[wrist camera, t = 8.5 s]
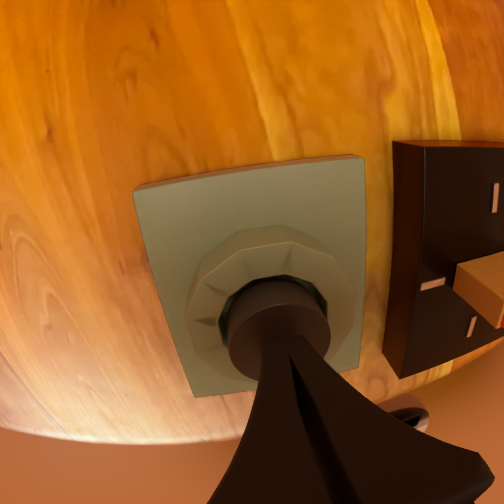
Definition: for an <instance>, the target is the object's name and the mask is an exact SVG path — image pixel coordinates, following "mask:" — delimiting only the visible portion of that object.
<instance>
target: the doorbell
mask: <svg viewBox="0 0 504 504" xmlns="http://www.w3.org/2000/svg"><path fill="white" fill-rule="evenodd" d="M132 196H133V200H134V205H135V209H136V213H137V217H138V222H139V226H140V230H141V234H142V237H143V241H144V245H145V249H146V253H147V256H148V260H149V264H150V267H151V271H152V274H153V278H154V281H155V284H156V288H157V291H158V294H159V298H160V301H161V304H162V307H163V311H164V314H165V317H166V320H167V323H168V326H169V329H170V332H171V335H172V338H173V341H174V344H175V347H176V349H177V352H178V355H179V358H180V361H181V363H182V366H183V369H184V372H185V374H186V377H187V380H188V382H189V385H190V387H191V390H192V393H193V395H194V397H195V398H198V397H207V396H215V395H223V394H231V393H238V392H245V391H251V390H257V386H258V381H255V380H253V379H250V378H248V377H246V376H244V375H243V374H241V373H240V372H239V371H238V370H237V369H236V368H235V366H234V365H233V363H232V362H231V360H230V357H229V351H228V338H227V313H228V310H229V307H230V306H231V304H232V302H233V301H234V299H235V298H236V297H237V296H238V295H239V294H240V293H241V292H242V291H243V290H244V289H246V288H248V287H249V286H251V285H253V284H255V283H257V282H260V281H264V280H268V279H287V280H291V281H295V282H297V283H299V284H301V285H303V286H304V287H306V288H307V289H308V290H309V291H310V292H311V293H312V294H313V296H314V297H315V299H316V301H317V303H318V305H319V307H320V309H321V310H322V312H323V314H324V316H325V318H326V320H327V322H328V324H329V327H330V331H331V342H330V346H329V349H328V351H327V353H326V355H325V357H324V358H323V359H324V360H325V361H326V362H327V363H328V364H329V365H330V366H331V367H332V368H333V369H334V370H335V371H336V372H337V373H340V372H344V371H348V370H352V369H356V368H358V367H359V359H360V349H361V339H362V327H363V314H364V298H365V276H366V182H365V161H364V158H363V157H359V156H356V155H352V154H351V155H339V156H328V157H318V158H308V159H299V160H290V161H282V162H274V163H266V164H259V165H252V166H245V167H238V168H231V169H225V170H219V171H213V172H207V173H201V174H195V175H190V176H184V177H179V178H174V179H169V180H164V181H159V182H154V183H149V184H144V185H140V186H138V187H137V188H136V189H135V190H134V191H132Z"/></svg>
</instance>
